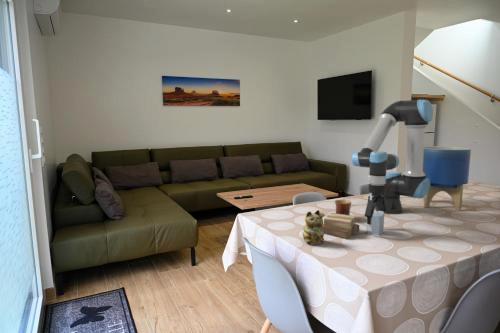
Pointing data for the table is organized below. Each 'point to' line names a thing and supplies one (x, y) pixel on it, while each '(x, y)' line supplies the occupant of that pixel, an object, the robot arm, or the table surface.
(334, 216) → the slab upper
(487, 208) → the table surface
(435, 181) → the planter
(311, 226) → the decorative figurine
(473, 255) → the table surface
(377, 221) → the block
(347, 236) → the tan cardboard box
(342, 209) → the mug
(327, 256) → the table surface
